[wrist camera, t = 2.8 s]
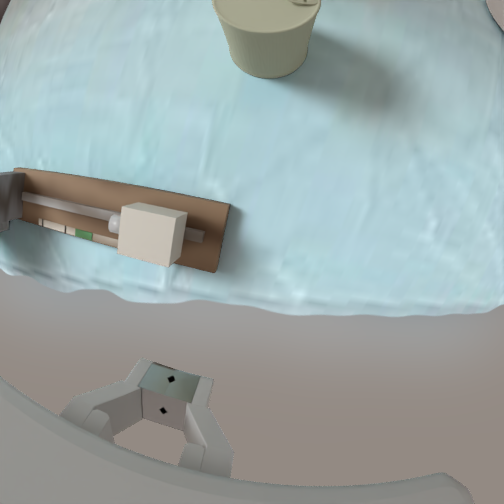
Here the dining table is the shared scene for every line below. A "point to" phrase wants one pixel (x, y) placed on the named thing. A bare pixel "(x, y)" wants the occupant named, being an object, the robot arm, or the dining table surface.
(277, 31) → the can
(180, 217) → the block
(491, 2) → the spoon
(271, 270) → the dining table surface
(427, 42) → the dining table surface
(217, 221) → the gauge base
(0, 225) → the coffee box
